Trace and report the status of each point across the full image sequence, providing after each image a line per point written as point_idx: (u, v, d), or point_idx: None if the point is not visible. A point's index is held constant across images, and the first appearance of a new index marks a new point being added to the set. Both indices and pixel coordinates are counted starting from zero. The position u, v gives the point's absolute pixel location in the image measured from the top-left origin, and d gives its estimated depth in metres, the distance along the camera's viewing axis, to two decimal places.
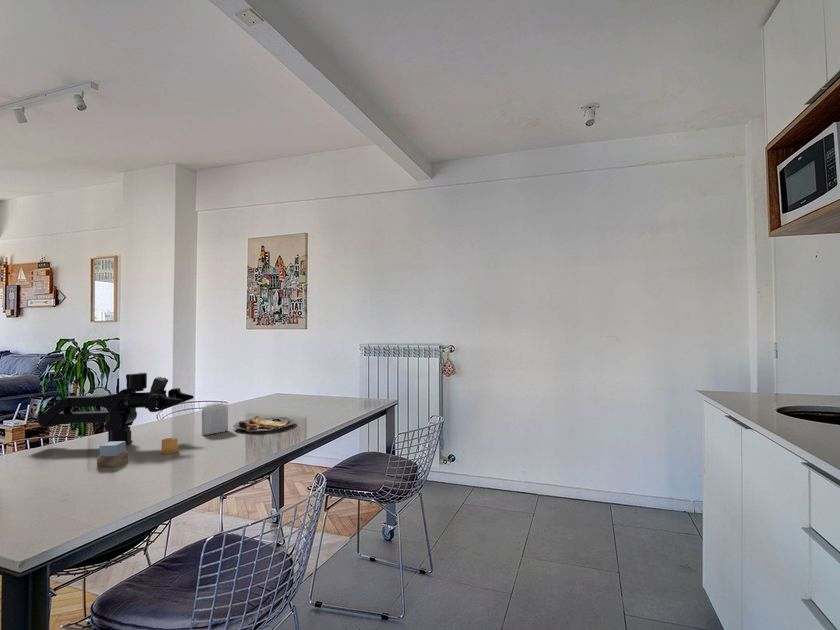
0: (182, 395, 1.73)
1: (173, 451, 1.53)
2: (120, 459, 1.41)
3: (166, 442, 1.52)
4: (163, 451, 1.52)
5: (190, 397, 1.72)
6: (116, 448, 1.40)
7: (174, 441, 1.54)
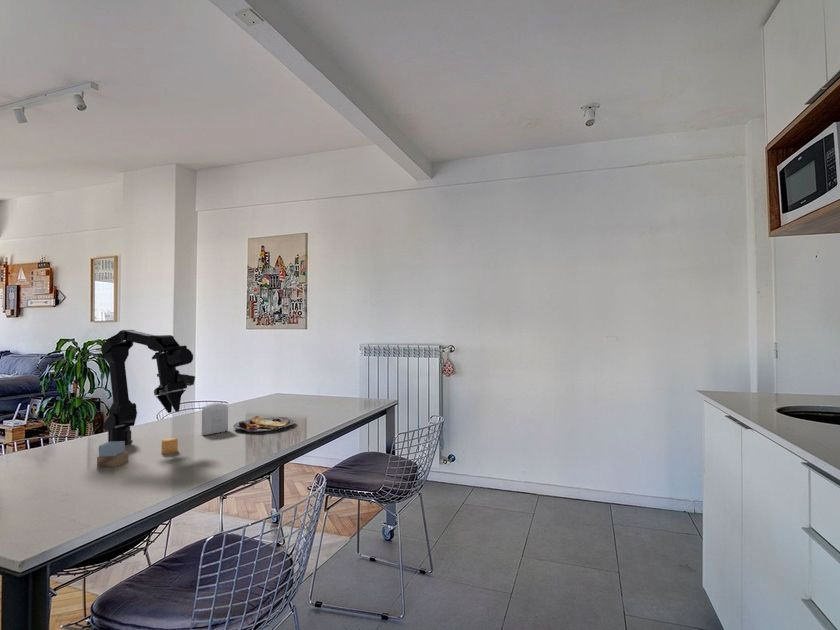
0: (170, 400, 1.61)
1: (173, 451, 1.53)
2: (120, 459, 1.41)
3: (166, 442, 1.52)
4: (163, 451, 1.52)
5: (169, 409, 1.60)
6: (115, 448, 1.40)
7: (174, 441, 1.54)
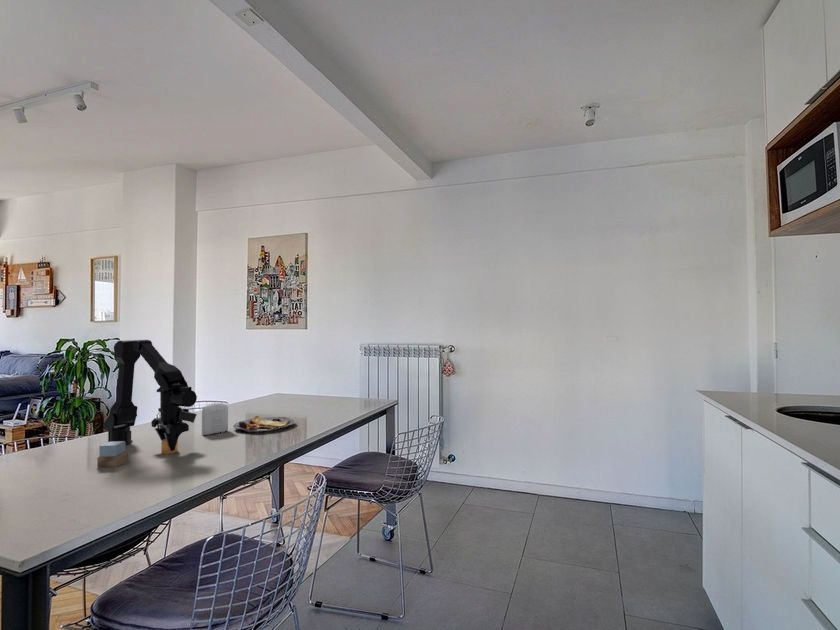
0: None
1: (173, 451, 1.53)
2: (120, 459, 1.41)
3: (166, 442, 1.52)
4: (163, 451, 1.52)
5: None
6: (116, 448, 1.40)
7: None
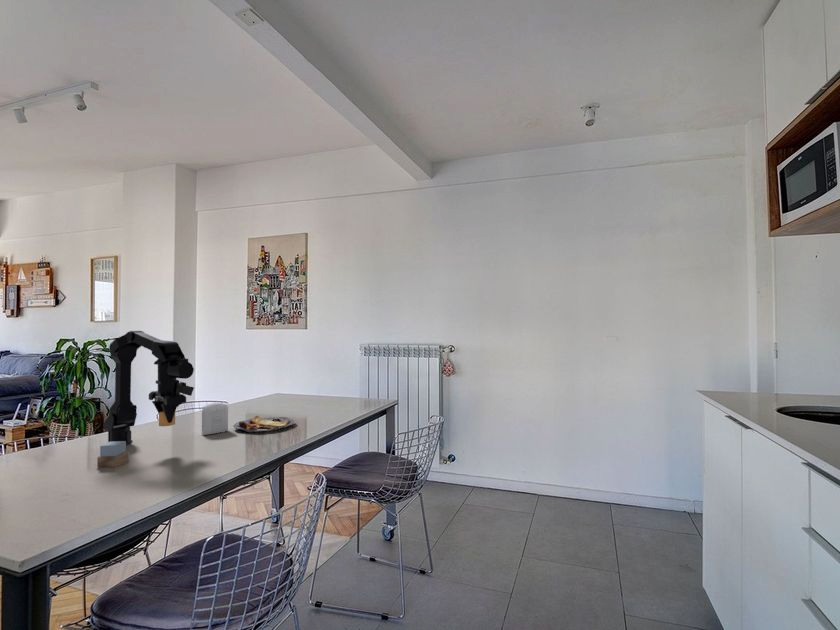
0: None
1: (170, 423, 1.53)
2: (120, 459, 1.41)
3: (163, 414, 1.52)
4: (160, 423, 1.52)
5: None
6: (117, 448, 1.40)
7: None
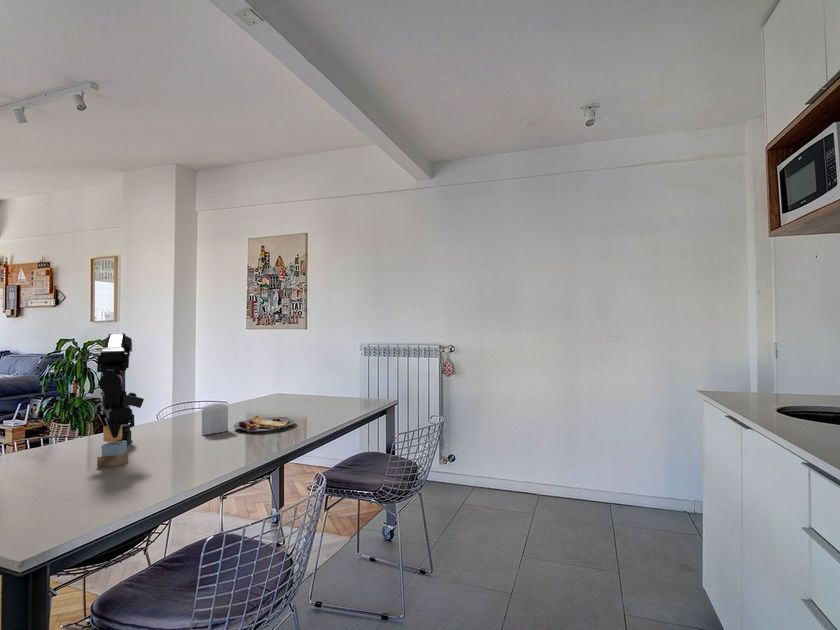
0: None
1: (116, 438, 1.41)
2: (120, 459, 1.41)
3: (107, 428, 1.40)
4: (105, 438, 1.40)
5: None
6: (119, 447, 1.41)
7: None
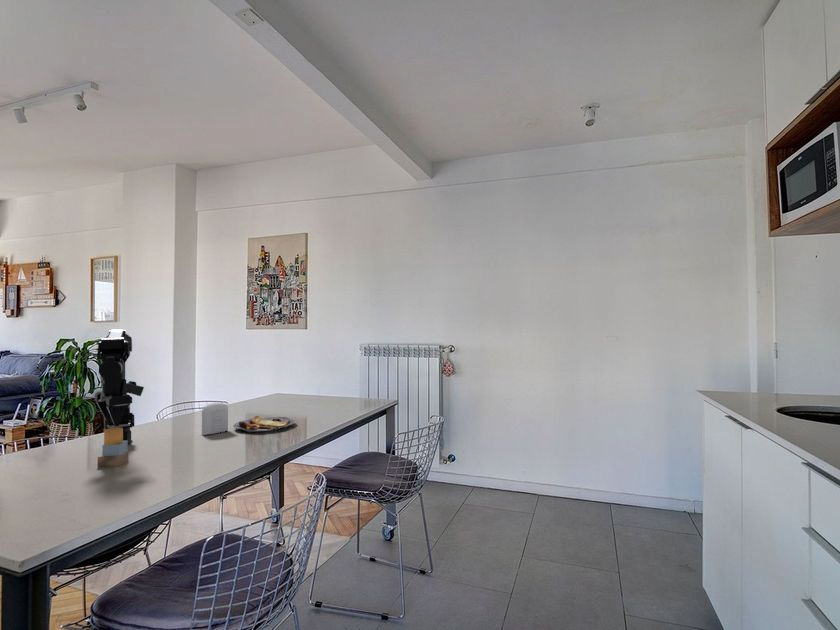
0: None
1: (117, 442, 1.41)
2: (120, 459, 1.41)
3: (108, 431, 1.40)
4: (105, 441, 1.40)
5: (109, 418, 1.45)
6: (120, 447, 1.41)
7: (118, 431, 1.42)
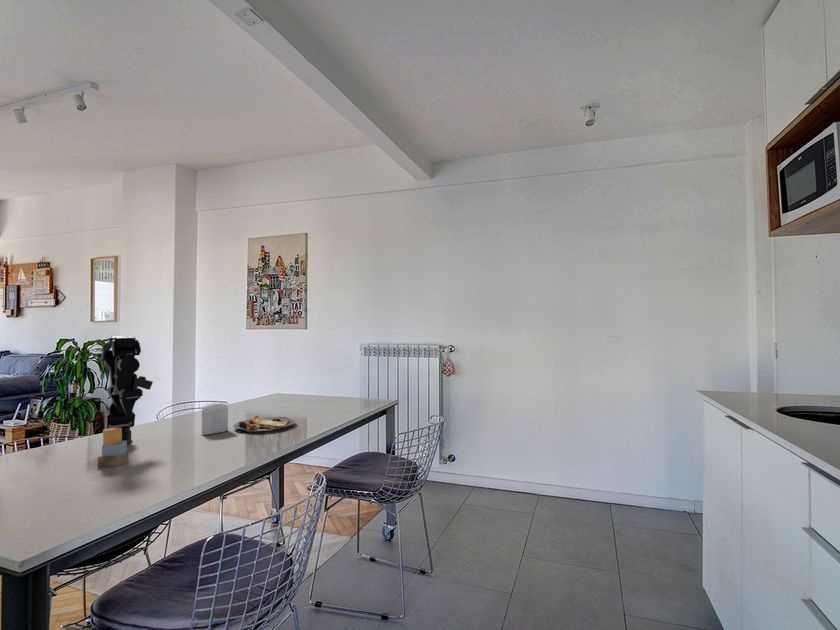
0: None
1: (116, 442, 1.41)
2: (120, 459, 1.41)
3: (107, 431, 1.40)
4: (104, 442, 1.40)
5: (121, 410, 1.60)
6: (119, 447, 1.41)
7: (117, 431, 1.41)
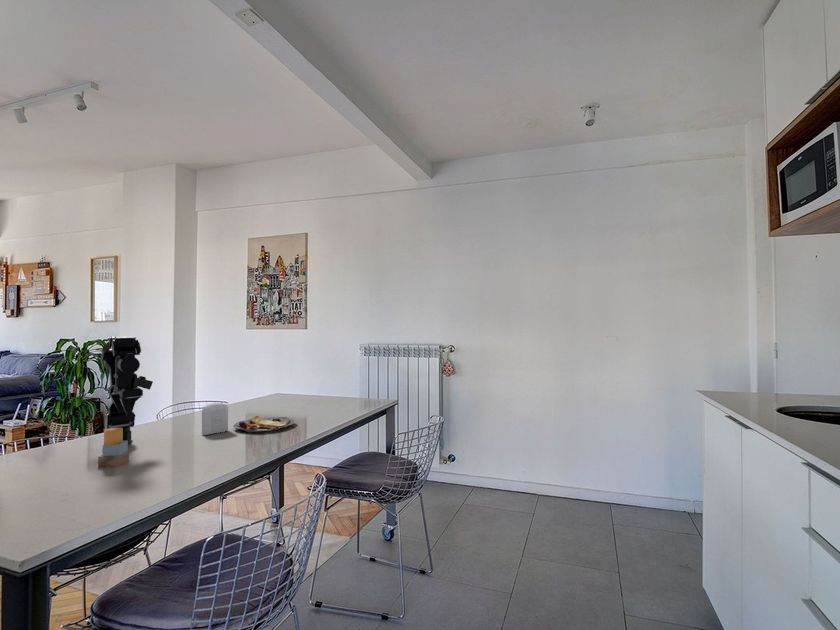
0: None
1: (116, 442, 1.41)
2: (121, 459, 1.42)
3: (108, 431, 1.40)
4: (105, 442, 1.40)
5: (121, 410, 1.60)
6: (120, 447, 1.41)
7: (118, 431, 1.41)
